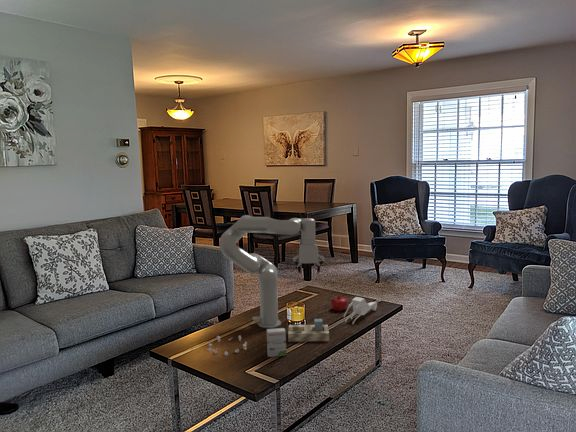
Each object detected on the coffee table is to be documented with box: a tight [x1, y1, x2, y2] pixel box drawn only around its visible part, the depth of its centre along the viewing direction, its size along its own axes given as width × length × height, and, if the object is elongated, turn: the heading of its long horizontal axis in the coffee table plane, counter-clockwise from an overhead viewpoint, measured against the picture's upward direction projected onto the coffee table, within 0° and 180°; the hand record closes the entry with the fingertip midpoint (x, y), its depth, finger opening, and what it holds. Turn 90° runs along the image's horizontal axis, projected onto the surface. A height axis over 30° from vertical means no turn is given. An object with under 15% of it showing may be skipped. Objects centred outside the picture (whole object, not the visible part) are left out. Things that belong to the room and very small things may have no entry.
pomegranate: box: [330, 294, 349, 312], centre depth 272 cm, size 10×10×9 cm
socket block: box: [287, 324, 330, 342], centre depth 231 cm, size 20×12×4 cm, turn 88°
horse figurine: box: [343, 296, 378, 325], centre depth 259 cm, size 6×18×28 cm
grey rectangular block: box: [313, 318, 324, 331], centre depth 231 cm, size 4×4×8 cm
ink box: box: [266, 327, 287, 358], centre depth 211 cm, size 9×5×12 cm, turn 96°
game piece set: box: [207, 335, 248, 356], centre depth 221 cm, size 19×20×4 cm
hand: (309, 273), depth 246 cm, fingers open, 9 cm apart
